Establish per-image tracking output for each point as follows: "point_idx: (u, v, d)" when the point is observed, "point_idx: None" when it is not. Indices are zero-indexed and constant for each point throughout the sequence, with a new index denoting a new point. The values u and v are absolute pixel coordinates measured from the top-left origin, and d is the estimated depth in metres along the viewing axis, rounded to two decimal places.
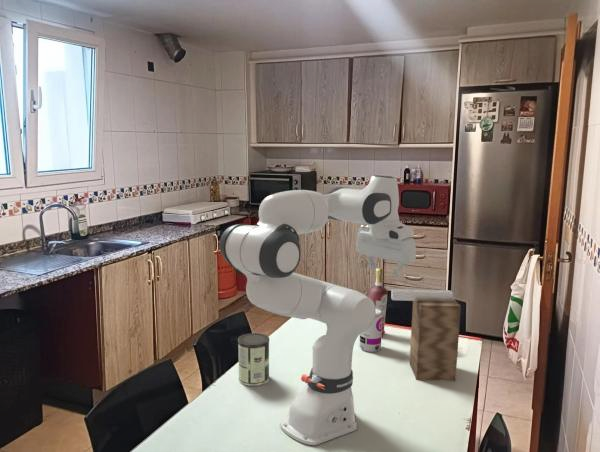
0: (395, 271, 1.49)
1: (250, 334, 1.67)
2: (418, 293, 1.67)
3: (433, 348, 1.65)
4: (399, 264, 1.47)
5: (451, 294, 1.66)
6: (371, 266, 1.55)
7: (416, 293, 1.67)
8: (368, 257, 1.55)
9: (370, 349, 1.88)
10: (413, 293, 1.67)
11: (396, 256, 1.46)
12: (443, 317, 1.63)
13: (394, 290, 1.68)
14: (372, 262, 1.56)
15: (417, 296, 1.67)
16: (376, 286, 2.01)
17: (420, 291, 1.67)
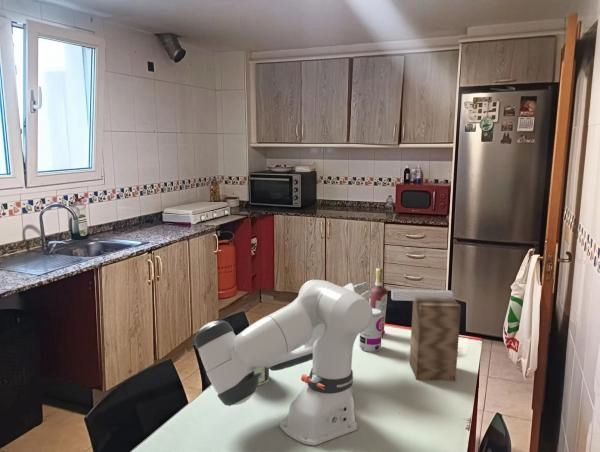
0: None
1: None
2: (418, 293, 1.67)
3: (433, 348, 1.65)
4: None
5: (451, 294, 1.66)
6: None
7: (416, 293, 1.67)
8: None
9: (370, 349, 1.88)
10: (413, 293, 1.67)
11: None
12: (443, 317, 1.63)
13: (394, 290, 1.68)
14: (361, 286, 1.74)
15: (417, 296, 1.67)
16: (376, 286, 2.01)
17: (420, 291, 1.67)
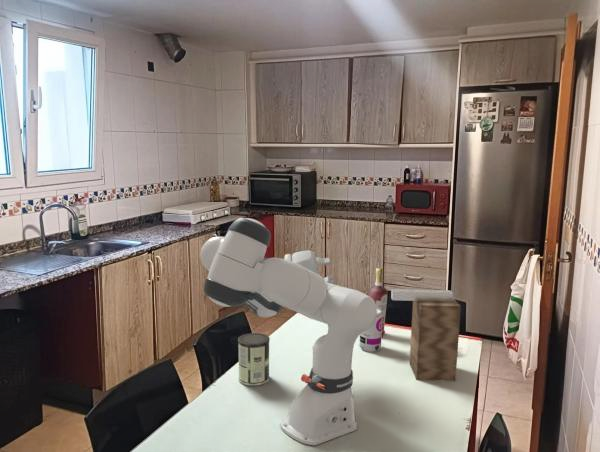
0: (325, 264, 1.62)
1: (250, 334, 1.67)
2: (418, 293, 1.67)
3: (433, 348, 1.65)
4: (317, 263, 1.61)
5: (451, 294, 1.66)
6: (330, 279, 1.69)
7: (416, 293, 1.67)
8: None
9: (370, 349, 1.88)
10: (413, 293, 1.67)
11: (310, 267, 1.61)
12: (443, 317, 1.63)
13: (394, 290, 1.68)
14: (327, 278, 1.70)
15: (417, 296, 1.67)
16: (376, 286, 2.01)
17: (420, 291, 1.67)
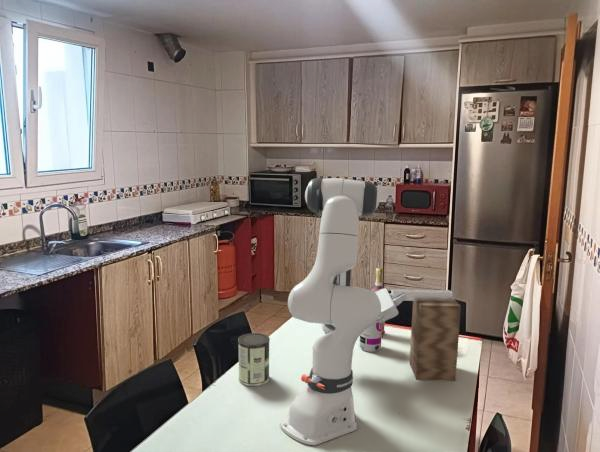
0: None
1: (251, 334, 1.67)
2: (418, 293, 1.67)
3: (433, 348, 1.65)
4: None
5: (451, 294, 1.66)
6: (401, 294, 1.66)
7: (416, 293, 1.67)
8: (394, 299, 1.65)
9: (370, 349, 1.88)
10: (413, 293, 1.67)
11: (382, 293, 1.74)
12: (443, 317, 1.63)
13: (394, 290, 1.68)
14: None
15: (418, 296, 1.67)
16: (376, 286, 2.01)
17: (420, 291, 1.67)
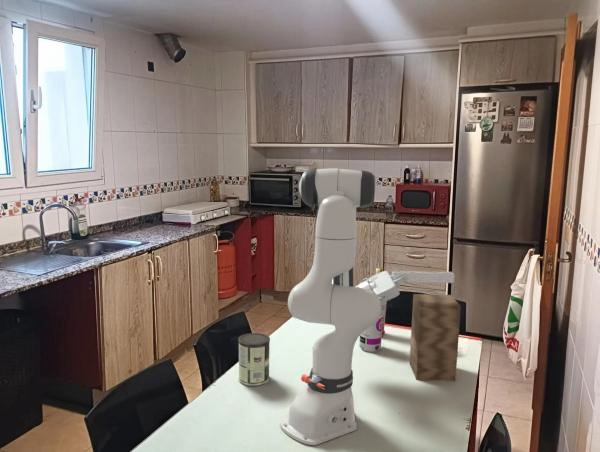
0: None
1: (251, 334, 1.67)
2: (419, 274, 1.66)
3: (433, 348, 1.65)
4: (391, 275, 1.71)
5: (452, 275, 1.65)
6: (402, 276, 1.65)
7: (417, 274, 1.66)
8: (395, 280, 1.64)
9: (370, 349, 1.88)
10: (414, 274, 1.66)
11: (383, 275, 1.73)
12: (443, 317, 1.63)
13: (395, 271, 1.67)
14: None
15: (419, 277, 1.66)
16: None
17: (421, 272, 1.66)
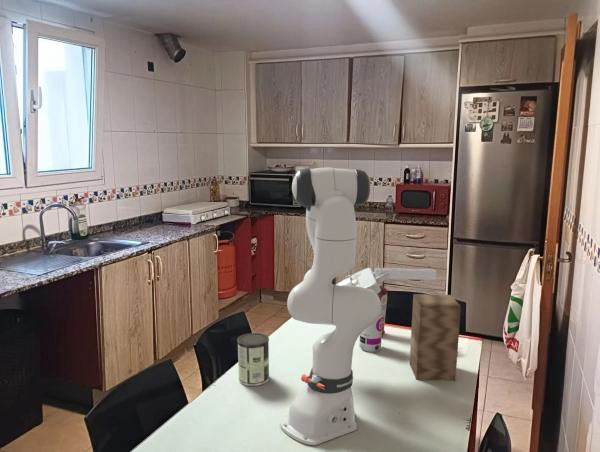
0: None
1: (250, 334, 1.67)
2: (401, 271, 1.65)
3: (433, 348, 1.65)
4: None
5: (434, 272, 1.65)
6: (384, 273, 1.65)
7: (399, 271, 1.65)
8: (376, 277, 1.64)
9: (370, 349, 1.88)
10: (396, 271, 1.65)
11: (366, 272, 1.73)
12: (443, 317, 1.63)
13: (377, 268, 1.67)
14: None
15: (401, 274, 1.66)
16: None
17: (403, 269, 1.66)
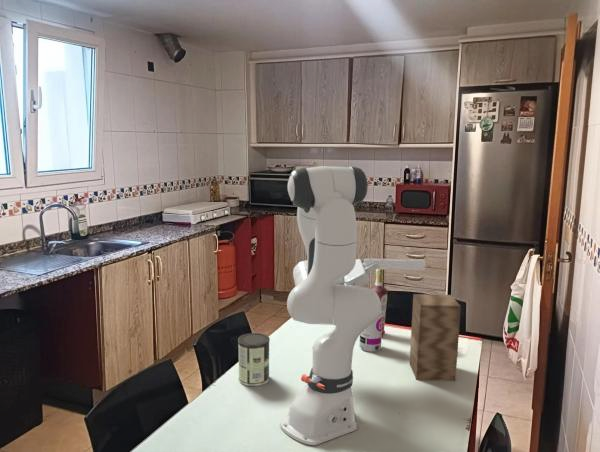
0: None
1: (251, 334, 1.67)
2: (390, 262, 1.65)
3: (433, 348, 1.65)
4: None
5: (424, 263, 1.65)
6: (373, 263, 1.65)
7: (388, 262, 1.65)
8: (366, 267, 1.64)
9: (370, 349, 1.88)
10: (385, 262, 1.65)
11: (355, 263, 1.73)
12: (443, 317, 1.63)
13: (366, 259, 1.67)
14: None
15: (390, 265, 1.65)
16: (376, 286, 2.01)
17: (393, 260, 1.66)
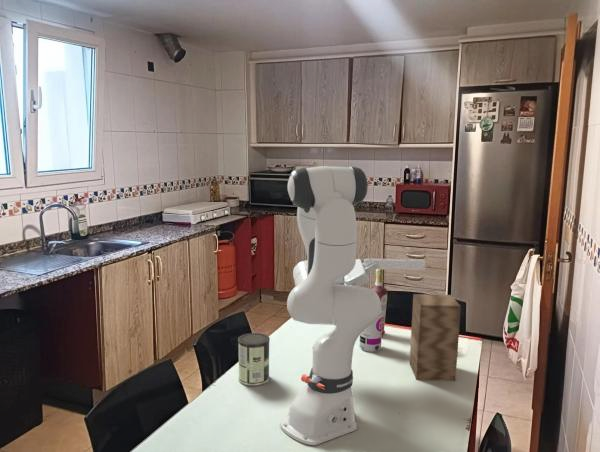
0: None
1: (251, 334, 1.67)
2: (390, 262, 1.65)
3: (433, 348, 1.65)
4: None
5: (424, 263, 1.65)
6: (373, 263, 1.65)
7: (388, 262, 1.65)
8: (366, 267, 1.64)
9: (370, 349, 1.88)
10: (385, 262, 1.65)
11: (355, 263, 1.73)
12: (443, 317, 1.63)
13: (366, 259, 1.67)
14: None
15: (390, 265, 1.65)
16: (376, 286, 2.01)
17: (393, 260, 1.66)
